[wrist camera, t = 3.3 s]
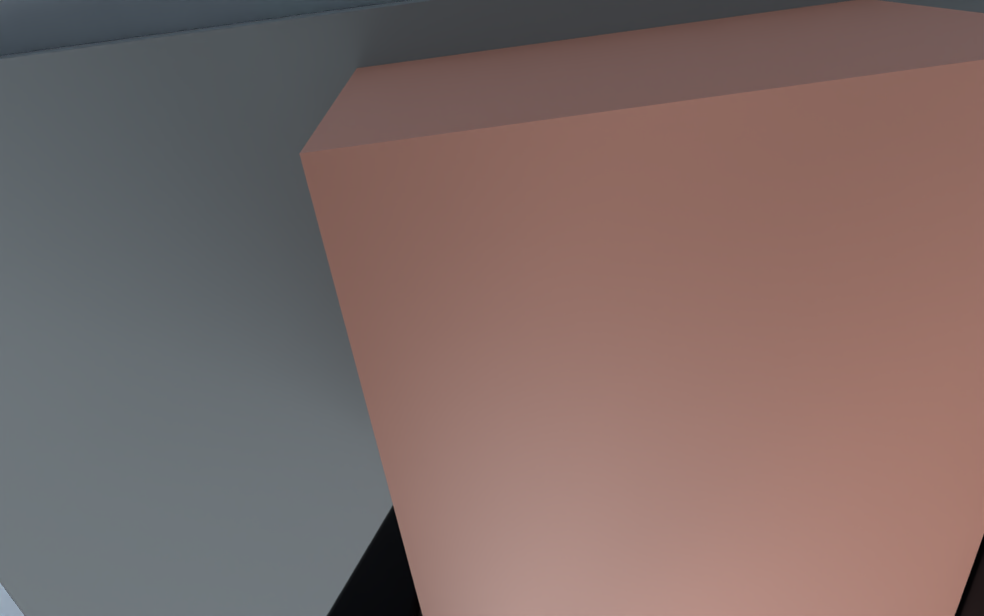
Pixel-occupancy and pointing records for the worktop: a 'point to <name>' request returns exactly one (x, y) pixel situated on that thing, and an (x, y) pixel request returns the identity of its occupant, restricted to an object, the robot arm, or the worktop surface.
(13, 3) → the worktop surface
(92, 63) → the mat
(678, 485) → the card deck
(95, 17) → the worktop surface
